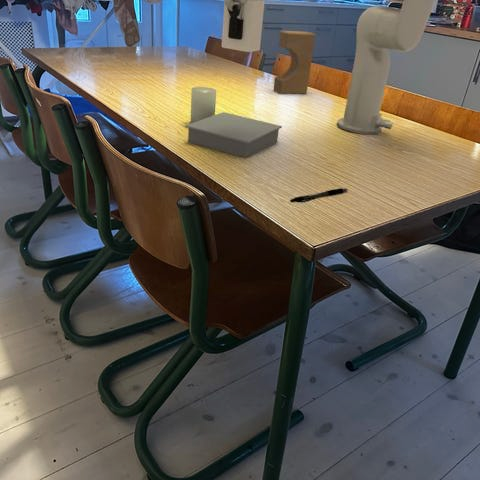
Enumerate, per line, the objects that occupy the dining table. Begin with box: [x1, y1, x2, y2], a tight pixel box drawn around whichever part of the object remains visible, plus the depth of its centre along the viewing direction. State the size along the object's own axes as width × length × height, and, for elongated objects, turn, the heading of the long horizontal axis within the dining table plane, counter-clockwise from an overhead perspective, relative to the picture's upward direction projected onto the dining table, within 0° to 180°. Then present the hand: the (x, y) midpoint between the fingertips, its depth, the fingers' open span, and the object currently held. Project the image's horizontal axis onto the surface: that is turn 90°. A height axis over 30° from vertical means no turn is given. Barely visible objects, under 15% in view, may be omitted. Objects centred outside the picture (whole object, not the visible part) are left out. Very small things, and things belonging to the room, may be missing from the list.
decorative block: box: [273, 30, 316, 95], centre depth 167 cm, size 11×6×20 cm, turn 110°
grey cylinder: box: [189, 86, 217, 124], centre depth 127 cm, size 6×6×9 cm
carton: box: [221, 0, 266, 53], centre depth 105 cm, size 5×7×10 cm
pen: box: [289, 188, 348, 203], centre depth 93 cm, size 14×2×1 cm, turn 121°
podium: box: [185, 111, 283, 159], centre depth 117 cm, size 17×17×4 cm
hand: (241, 37), depth 106 cm, fingers closed on carton, 5 cm apart
